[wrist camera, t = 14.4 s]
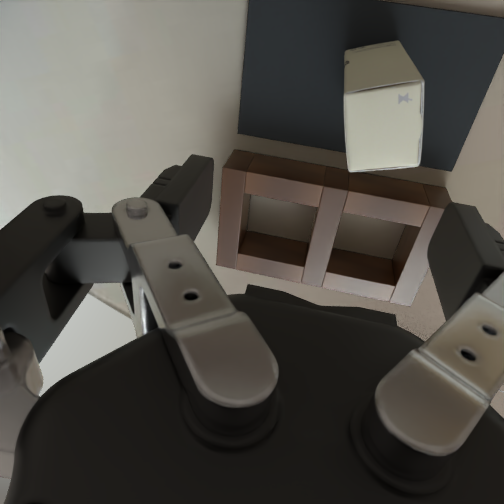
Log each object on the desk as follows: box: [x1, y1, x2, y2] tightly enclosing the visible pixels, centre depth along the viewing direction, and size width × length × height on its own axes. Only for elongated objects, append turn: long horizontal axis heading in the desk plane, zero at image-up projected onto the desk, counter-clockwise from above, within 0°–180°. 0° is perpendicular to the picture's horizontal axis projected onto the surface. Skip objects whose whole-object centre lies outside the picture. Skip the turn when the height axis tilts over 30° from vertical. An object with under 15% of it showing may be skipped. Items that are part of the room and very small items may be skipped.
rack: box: [216, 150, 452, 306], centre depth 40 cm, size 21×11×4 cm, turn 84°
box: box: [344, 41, 425, 172], centre depth 28 cm, size 5×4×13 cm
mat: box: [238, 0, 504, 171], centre depth 34 cm, size 20×12×1 cm, turn 84°
